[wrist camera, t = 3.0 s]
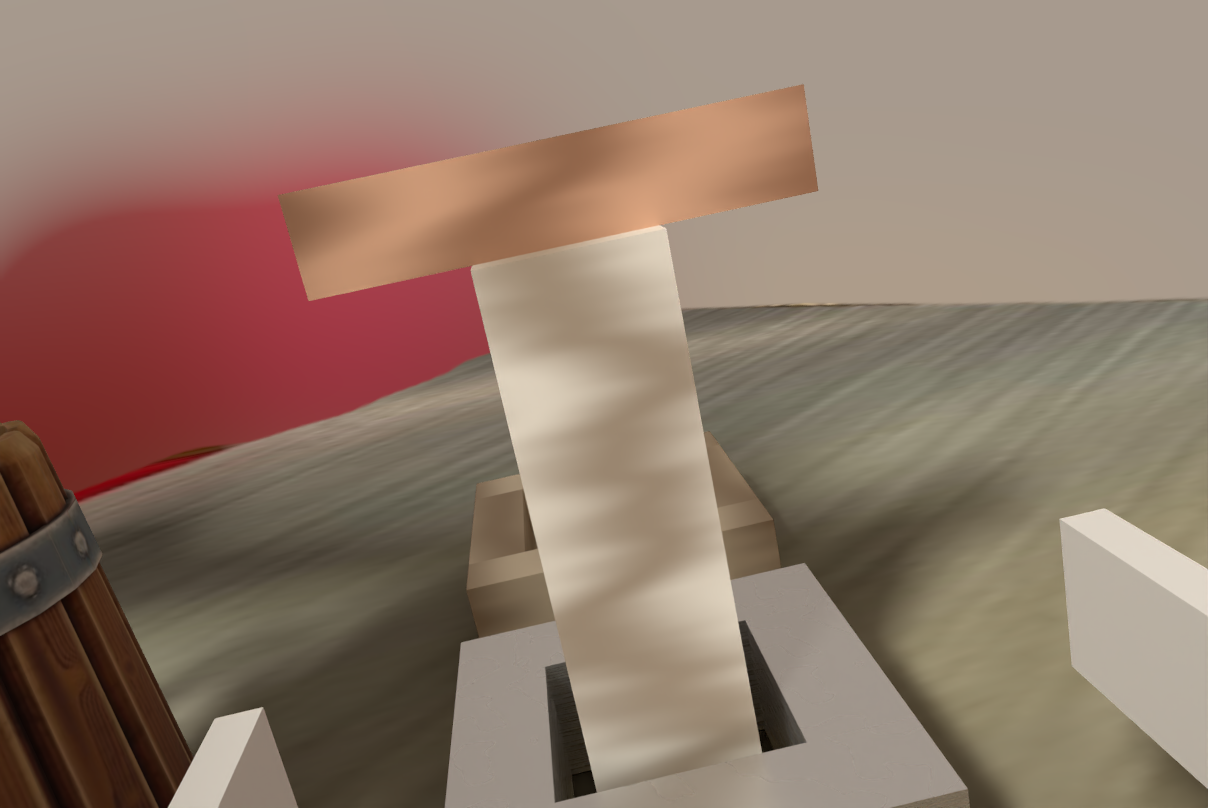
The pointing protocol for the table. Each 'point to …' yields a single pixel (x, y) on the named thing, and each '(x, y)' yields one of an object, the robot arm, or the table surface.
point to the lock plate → (726, 790)
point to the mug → (71, 658)
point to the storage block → (513, 566)
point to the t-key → (596, 388)
